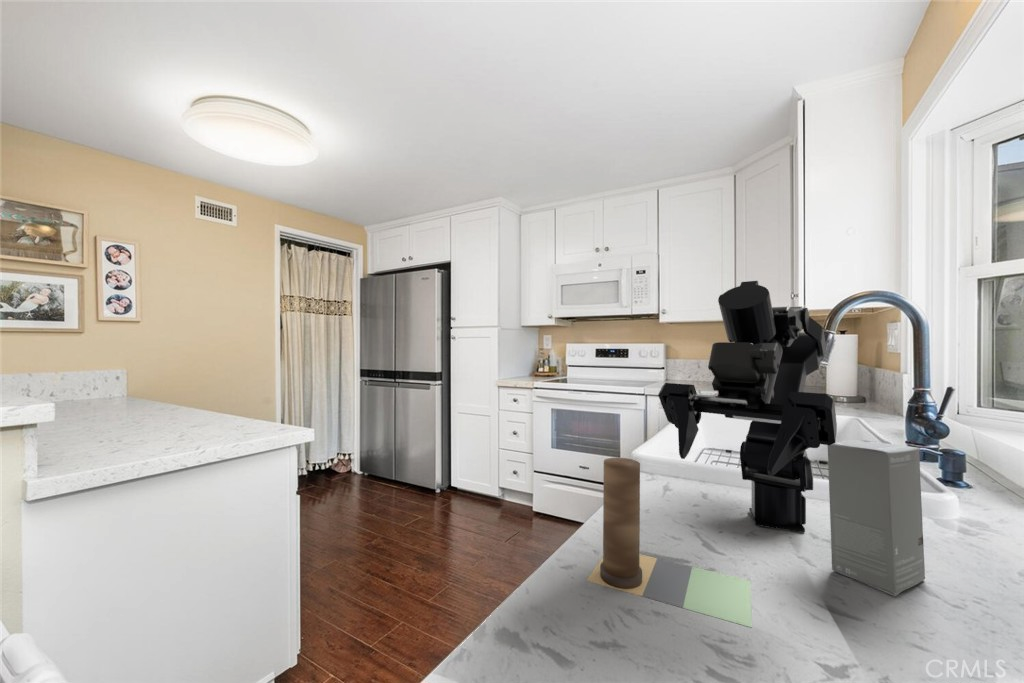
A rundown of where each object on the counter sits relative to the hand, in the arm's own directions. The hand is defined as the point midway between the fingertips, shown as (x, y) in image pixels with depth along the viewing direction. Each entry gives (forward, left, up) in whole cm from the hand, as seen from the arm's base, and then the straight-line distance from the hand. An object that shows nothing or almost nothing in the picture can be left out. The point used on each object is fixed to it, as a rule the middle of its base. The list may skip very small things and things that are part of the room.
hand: (722, 464), depth 47 cm
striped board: (-6, -2, -14) cm, 15 cm away
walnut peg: (-11, -3, -13) cm, 17 cm away
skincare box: (+18, +11, -15) cm, 26 cm away
